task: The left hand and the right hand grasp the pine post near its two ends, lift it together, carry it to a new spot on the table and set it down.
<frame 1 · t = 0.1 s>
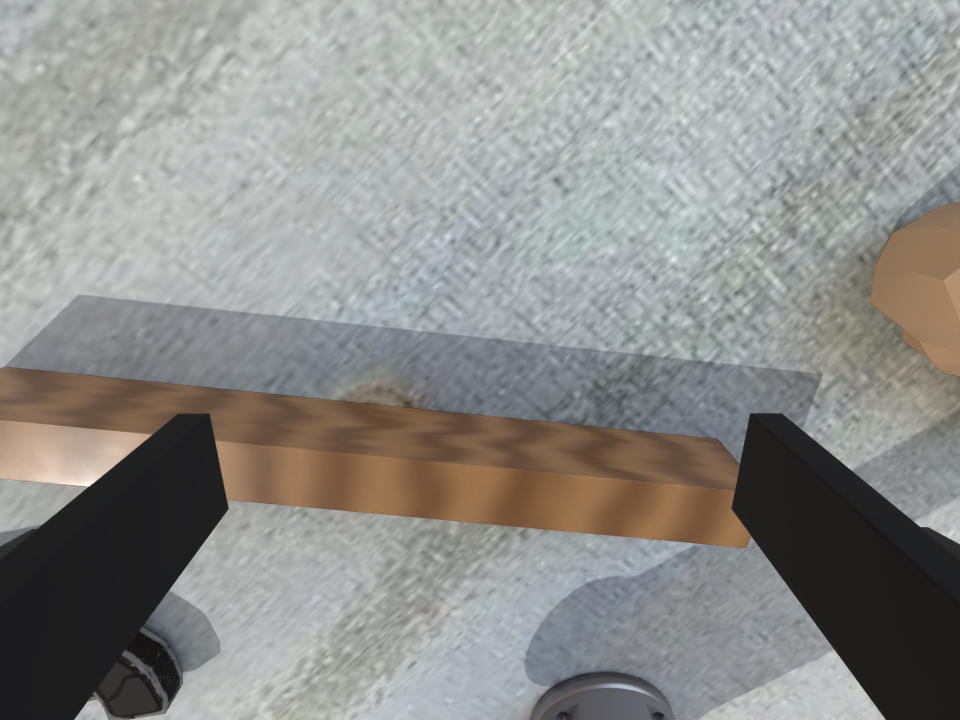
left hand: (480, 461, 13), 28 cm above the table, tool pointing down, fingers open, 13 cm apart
squash: (950, 308, 40), on the table
post: (369, 429, 44), on the table
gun: (24, 627, 52), on the table
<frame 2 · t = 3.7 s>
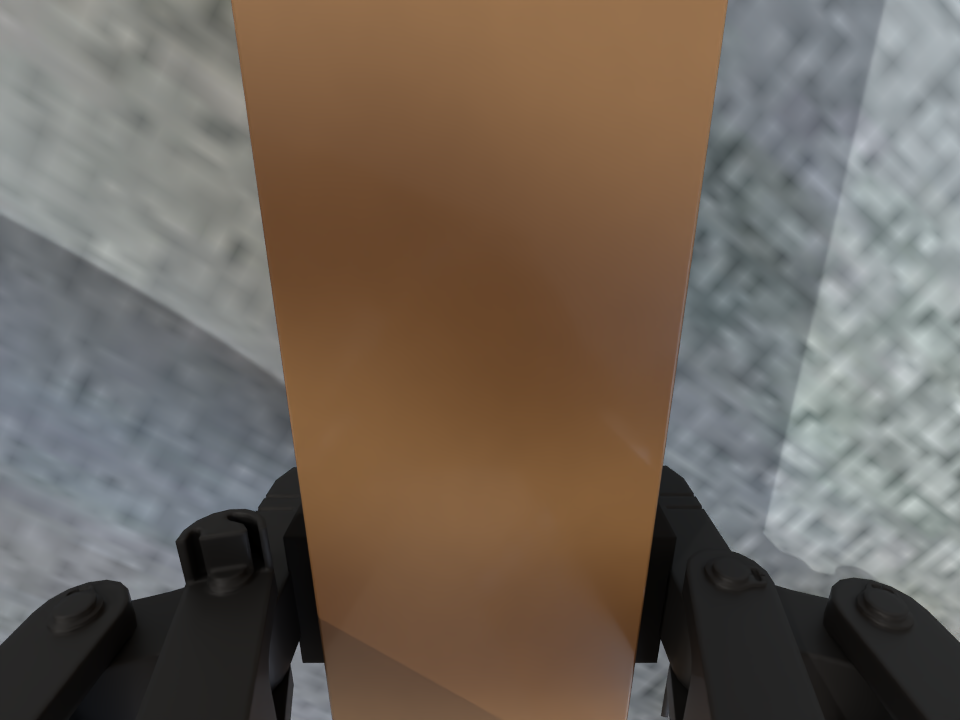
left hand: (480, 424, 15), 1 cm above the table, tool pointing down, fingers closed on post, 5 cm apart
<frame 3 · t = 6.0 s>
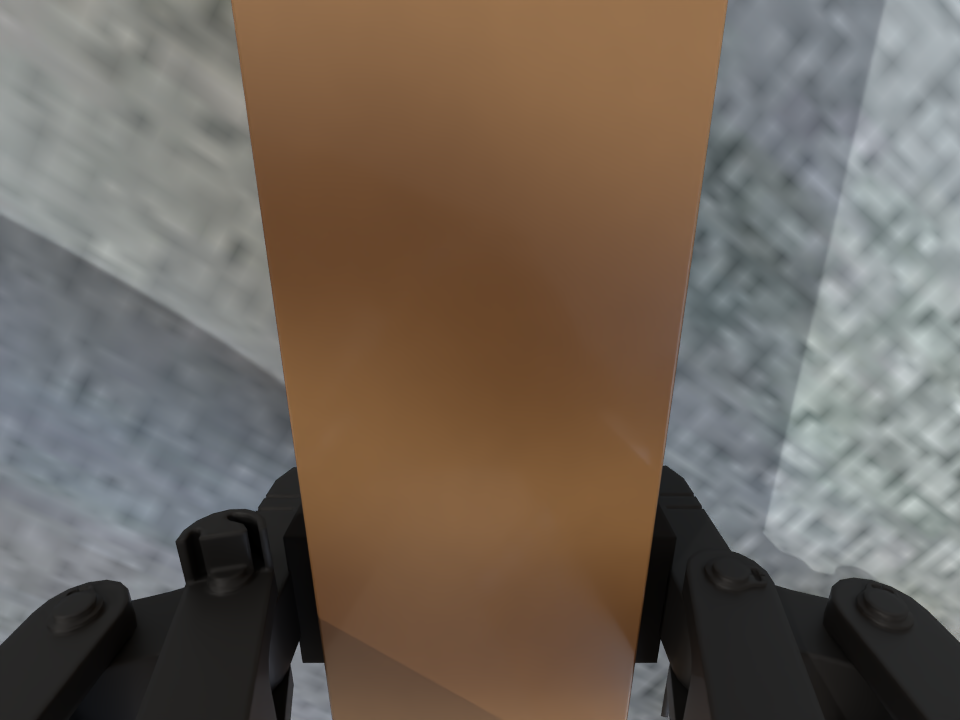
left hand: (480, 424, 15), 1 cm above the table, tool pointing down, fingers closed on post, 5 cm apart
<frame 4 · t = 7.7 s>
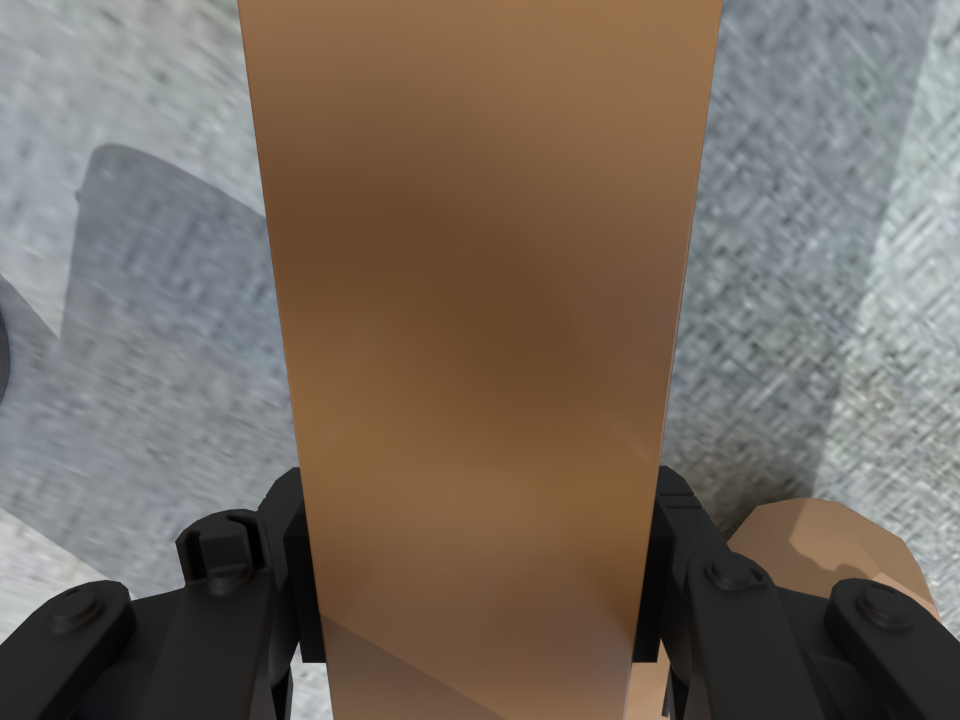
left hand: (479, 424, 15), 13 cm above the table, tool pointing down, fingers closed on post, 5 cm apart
squash: (719, 590, 34), on the table
when the left hand's fingers open (2 cm above the table, at t = 12.0 s): post drops 2 cm, on the table.
when the right hand's fingers open (2 cm above the table, at t = 12.0 s): post drops 2 cm, on the table.
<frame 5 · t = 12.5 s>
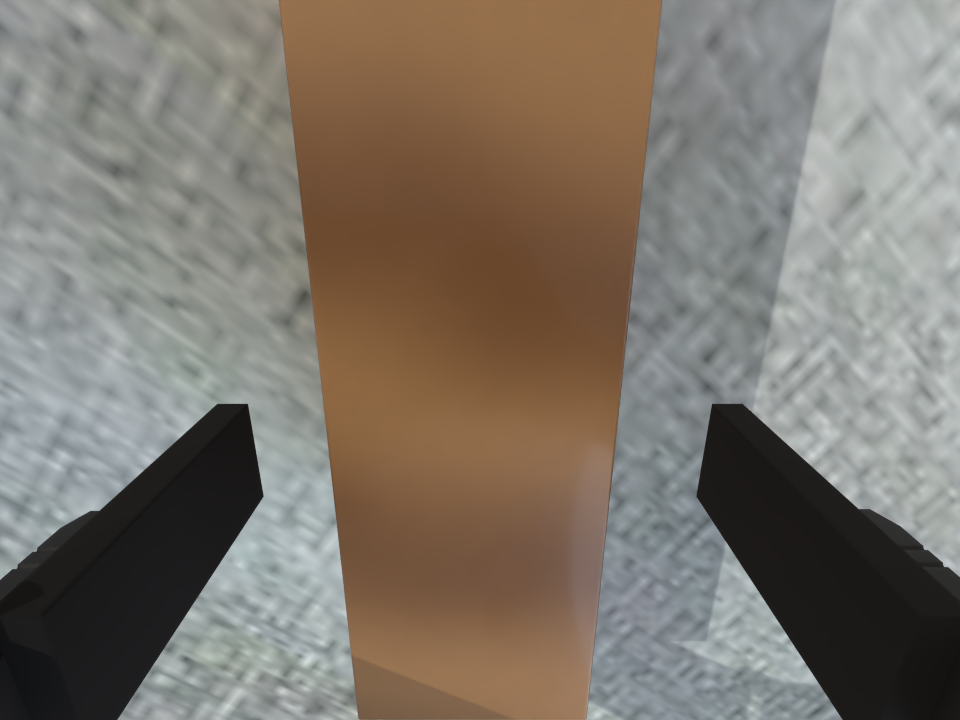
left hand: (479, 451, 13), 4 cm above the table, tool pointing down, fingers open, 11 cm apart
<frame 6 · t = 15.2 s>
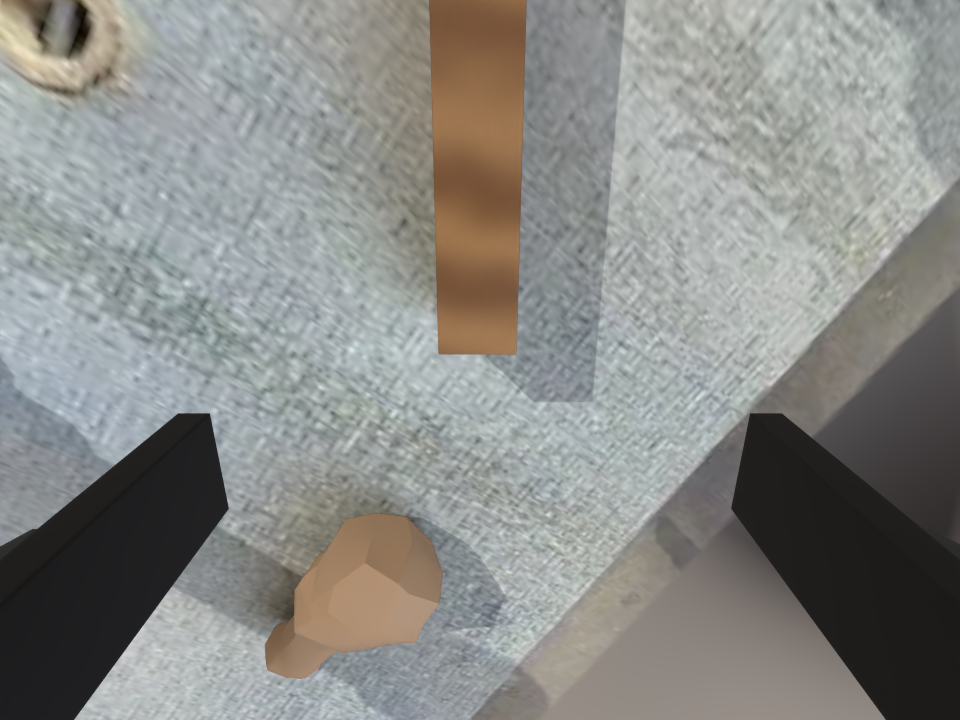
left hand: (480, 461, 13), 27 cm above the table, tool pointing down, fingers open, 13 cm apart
squash: (358, 577, 48), on the table
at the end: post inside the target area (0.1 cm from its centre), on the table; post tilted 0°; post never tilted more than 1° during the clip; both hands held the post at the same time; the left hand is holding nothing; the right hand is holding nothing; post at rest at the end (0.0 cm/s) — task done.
